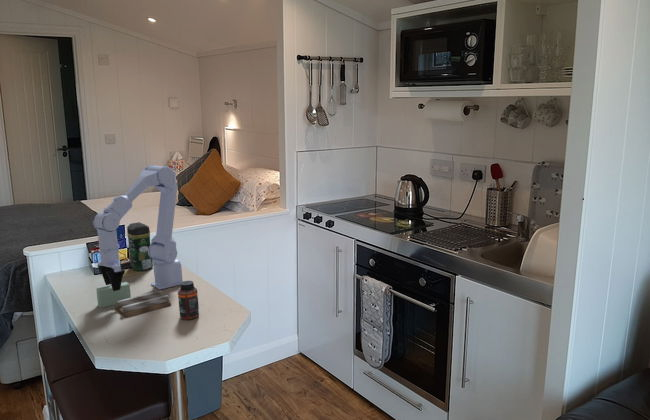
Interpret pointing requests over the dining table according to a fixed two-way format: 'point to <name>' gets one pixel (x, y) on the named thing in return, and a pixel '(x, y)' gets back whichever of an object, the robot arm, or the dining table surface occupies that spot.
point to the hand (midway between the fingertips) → (112, 287)
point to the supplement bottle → (188, 300)
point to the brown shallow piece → (142, 303)
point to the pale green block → (112, 294)
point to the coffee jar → (139, 246)
